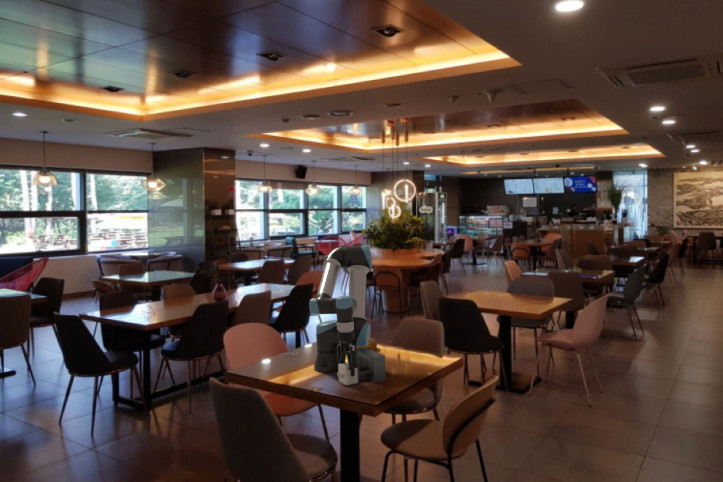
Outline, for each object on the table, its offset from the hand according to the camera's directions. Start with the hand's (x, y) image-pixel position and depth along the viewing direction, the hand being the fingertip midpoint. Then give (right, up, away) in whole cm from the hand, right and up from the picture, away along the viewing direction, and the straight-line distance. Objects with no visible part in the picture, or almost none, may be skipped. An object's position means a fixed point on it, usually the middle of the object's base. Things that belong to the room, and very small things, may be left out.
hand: (347, 380), depth 245 cm
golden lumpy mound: (+8, +2, +59) cm, 60 cm away
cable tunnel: (+10, 0, +6) cm, 12 cm away
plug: (+6, 0, +4) cm, 8 cm away
